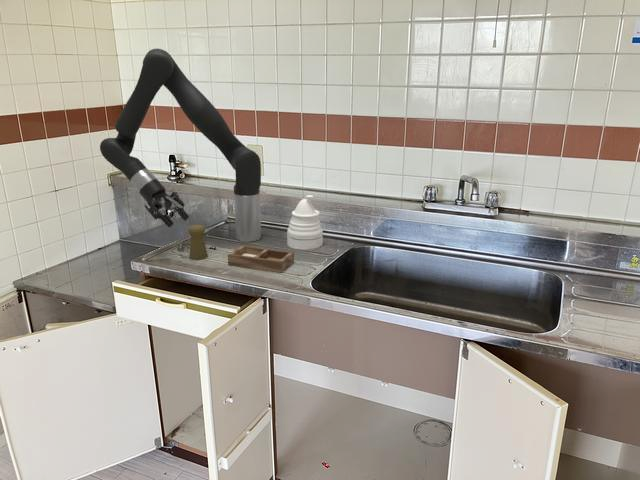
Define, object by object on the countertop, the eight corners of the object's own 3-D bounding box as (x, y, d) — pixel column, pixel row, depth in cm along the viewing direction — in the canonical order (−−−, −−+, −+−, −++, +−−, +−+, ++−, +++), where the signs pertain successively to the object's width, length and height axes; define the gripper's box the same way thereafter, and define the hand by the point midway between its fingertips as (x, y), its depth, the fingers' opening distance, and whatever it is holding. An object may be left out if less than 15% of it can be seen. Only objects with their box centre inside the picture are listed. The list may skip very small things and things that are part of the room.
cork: (203, 260, 168) (201, 228, 165) (186, 259, 169) (183, 227, 166) (210, 254, 174) (208, 223, 170) (194, 253, 175) (191, 222, 171)
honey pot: (329, 242, 187) (329, 194, 182) (309, 252, 177) (310, 201, 171) (300, 236, 194) (300, 189, 188) (280, 245, 184) (279, 196, 178)
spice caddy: (243, 255, 173) (242, 245, 172) (293, 262, 167) (293, 252, 166) (228, 264, 165) (227, 254, 163) (281, 272, 158) (281, 262, 157)
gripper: (139, 182, 162) (172, 220, 162) (167, 174, 175) (197, 210, 175) (127, 197, 166) (160, 234, 166) (155, 188, 178) (186, 223, 178)
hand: (179, 222), depth 170 cm, fingers open, 8 cm apart
